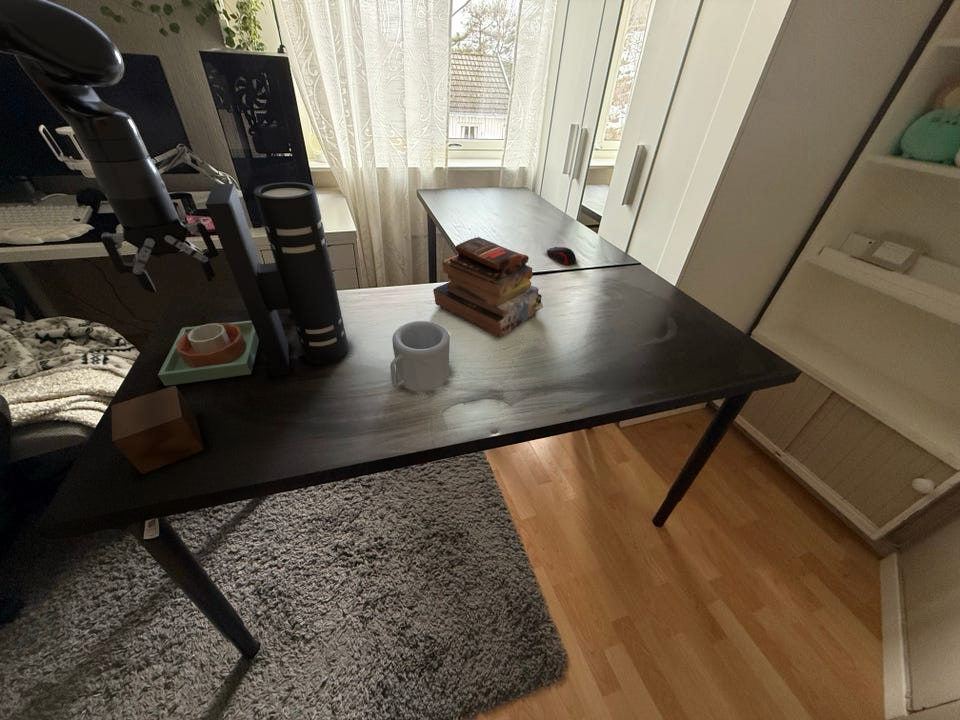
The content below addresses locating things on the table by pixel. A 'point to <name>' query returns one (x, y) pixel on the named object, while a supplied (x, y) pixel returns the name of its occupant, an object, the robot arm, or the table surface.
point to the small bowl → (208, 338)
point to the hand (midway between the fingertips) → (182, 285)
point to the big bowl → (216, 357)
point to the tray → (182, 373)
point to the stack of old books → (488, 287)
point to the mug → (420, 356)
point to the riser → (155, 429)
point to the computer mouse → (562, 255)
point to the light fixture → (283, 270)
